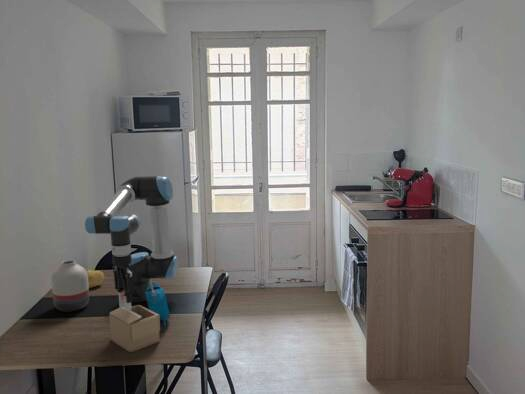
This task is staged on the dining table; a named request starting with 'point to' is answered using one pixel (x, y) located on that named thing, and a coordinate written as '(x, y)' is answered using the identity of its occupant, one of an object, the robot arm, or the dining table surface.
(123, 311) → the flap
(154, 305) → the blue rounded piece
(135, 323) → the carton
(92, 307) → the dining table surface
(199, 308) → the dining table surface
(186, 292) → the dining table surface
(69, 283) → the vase
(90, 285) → the potato
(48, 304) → the dining table surface
